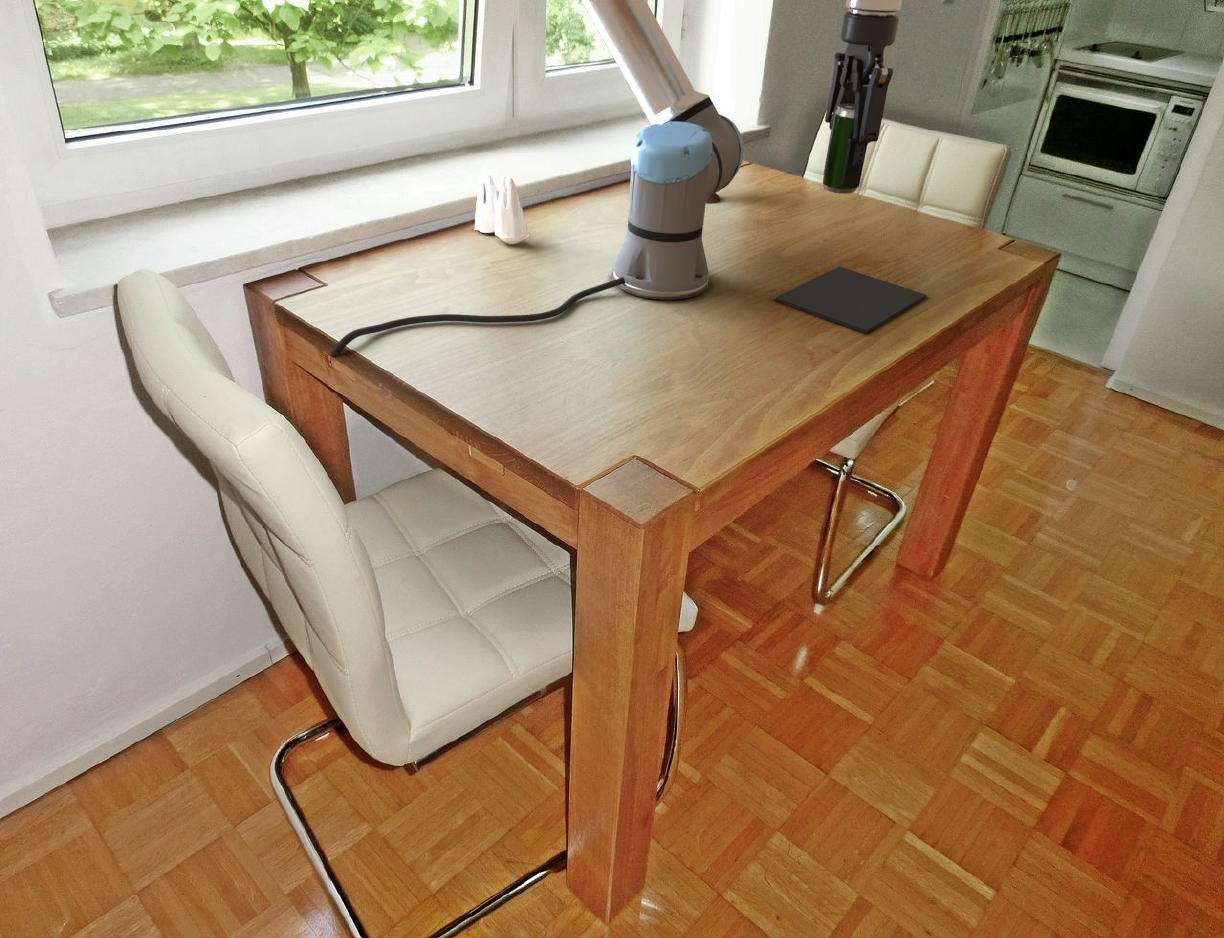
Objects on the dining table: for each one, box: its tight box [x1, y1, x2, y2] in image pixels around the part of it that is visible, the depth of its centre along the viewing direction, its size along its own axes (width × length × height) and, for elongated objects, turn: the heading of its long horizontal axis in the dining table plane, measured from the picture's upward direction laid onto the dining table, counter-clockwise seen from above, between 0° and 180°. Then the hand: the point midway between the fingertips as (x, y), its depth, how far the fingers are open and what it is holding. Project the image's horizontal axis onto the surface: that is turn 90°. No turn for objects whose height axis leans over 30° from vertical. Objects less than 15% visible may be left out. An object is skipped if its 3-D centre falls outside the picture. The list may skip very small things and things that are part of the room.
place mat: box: [774, 266, 927, 335], centre depth 142 cm, size 20×16×1 cm
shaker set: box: [474, 173, 530, 245], centre depth 154 cm, size 12×4×11 cm, turn 40°
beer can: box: [822, 104, 858, 195], centre depth 135 cm, size 5×5×12 cm
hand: (840, 180), depth 137 cm, fingers closed on beer can, 5 cm apart
